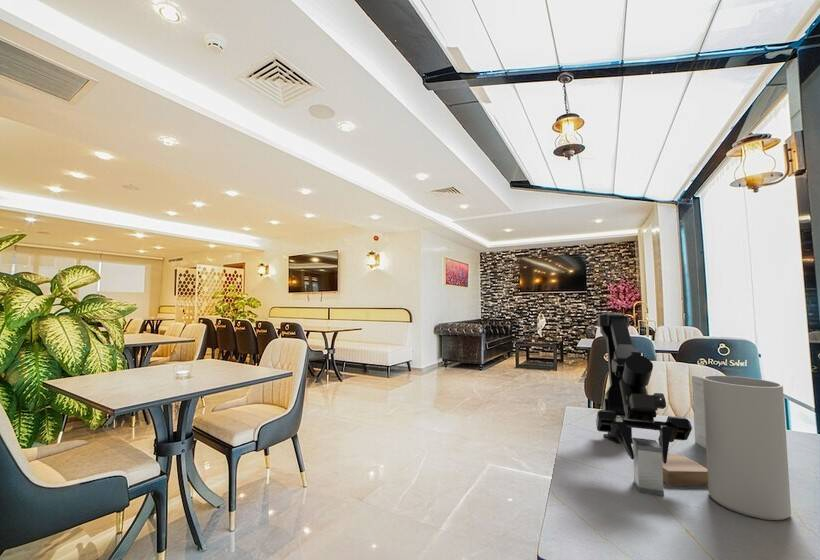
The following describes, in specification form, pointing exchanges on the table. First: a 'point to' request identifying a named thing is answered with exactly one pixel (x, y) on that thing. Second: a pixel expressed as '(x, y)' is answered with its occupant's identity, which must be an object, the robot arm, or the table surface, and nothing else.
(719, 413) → the cylinder vase
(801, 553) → the table surface
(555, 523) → the table surface
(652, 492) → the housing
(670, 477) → the stand
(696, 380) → the hard drive box
